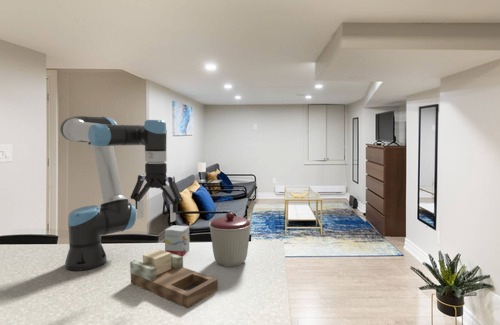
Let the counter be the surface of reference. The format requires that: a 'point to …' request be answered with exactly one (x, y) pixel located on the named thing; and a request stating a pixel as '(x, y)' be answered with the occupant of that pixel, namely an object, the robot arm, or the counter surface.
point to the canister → (230, 239)
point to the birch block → (158, 260)
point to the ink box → (177, 240)
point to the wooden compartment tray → (174, 282)
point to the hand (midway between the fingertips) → (156, 219)
